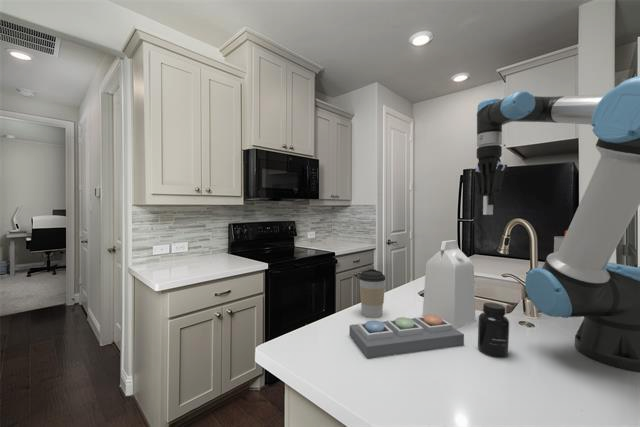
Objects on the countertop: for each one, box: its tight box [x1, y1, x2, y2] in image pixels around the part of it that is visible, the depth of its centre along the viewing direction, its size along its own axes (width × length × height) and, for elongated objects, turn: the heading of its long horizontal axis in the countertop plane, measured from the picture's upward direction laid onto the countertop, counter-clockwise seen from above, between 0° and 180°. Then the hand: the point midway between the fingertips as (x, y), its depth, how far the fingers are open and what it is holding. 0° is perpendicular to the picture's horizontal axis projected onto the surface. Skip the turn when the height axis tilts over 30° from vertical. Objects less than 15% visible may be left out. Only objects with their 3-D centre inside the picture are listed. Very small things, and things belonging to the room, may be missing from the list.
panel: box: [349, 316, 465, 360], centre depth 81 cm, size 13×28×4 cm, turn 104°
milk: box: [421, 239, 477, 330], centre depth 95 cm, size 12×12×26 cm
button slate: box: [365, 319, 384, 333], centre depth 78 cm, size 5×5×2 cm
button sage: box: [394, 316, 414, 330], centre depth 81 cm, size 5×5×2 cm
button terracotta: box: [424, 315, 442, 326], centre depth 83 cm, size 5×5×2 cm
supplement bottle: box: [477, 302, 510, 358], centre depth 74 cm, size 7×7×12 cm
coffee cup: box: [358, 268, 386, 319], centre depth 100 cm, size 9×9×15 cm
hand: (487, 214), depth 100 cm, fingers closed
